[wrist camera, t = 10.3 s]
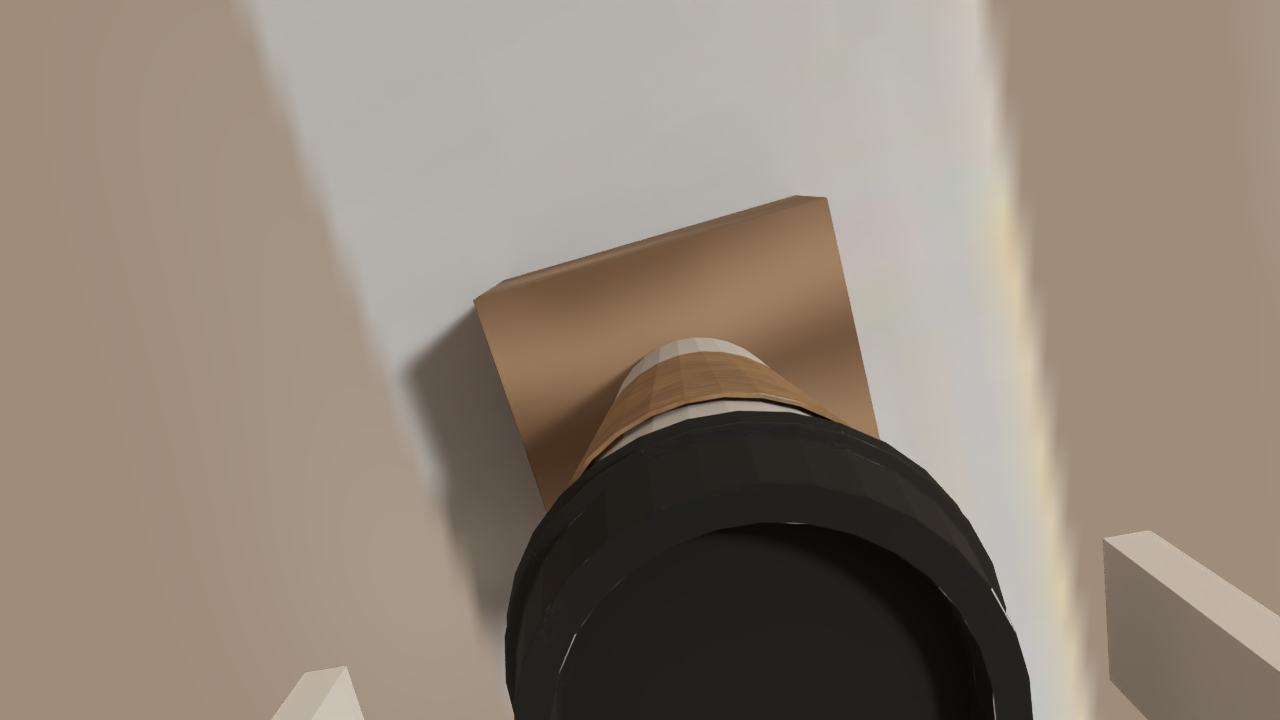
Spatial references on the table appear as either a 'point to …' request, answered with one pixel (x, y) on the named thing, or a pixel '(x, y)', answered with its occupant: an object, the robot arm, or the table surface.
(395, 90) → the table surface
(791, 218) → the walnut block
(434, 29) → the table surface
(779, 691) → the coffee cup
